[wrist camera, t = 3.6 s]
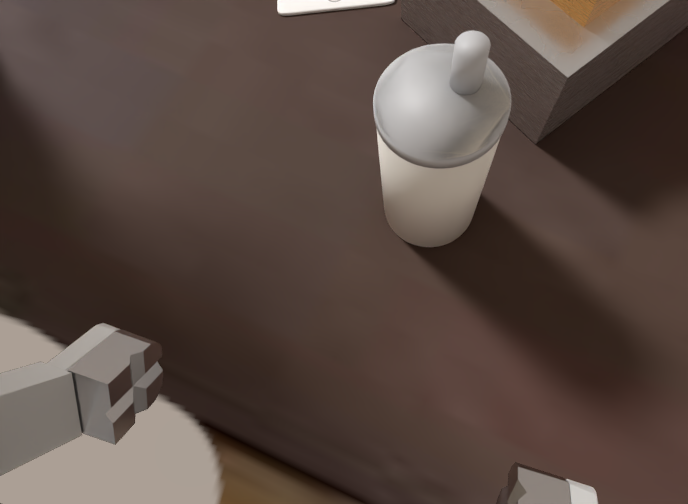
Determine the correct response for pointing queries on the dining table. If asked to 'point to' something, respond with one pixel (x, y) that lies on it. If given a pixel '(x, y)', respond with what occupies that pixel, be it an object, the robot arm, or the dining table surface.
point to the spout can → (438, 136)
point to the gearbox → (553, 46)
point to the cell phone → (324, 5)
